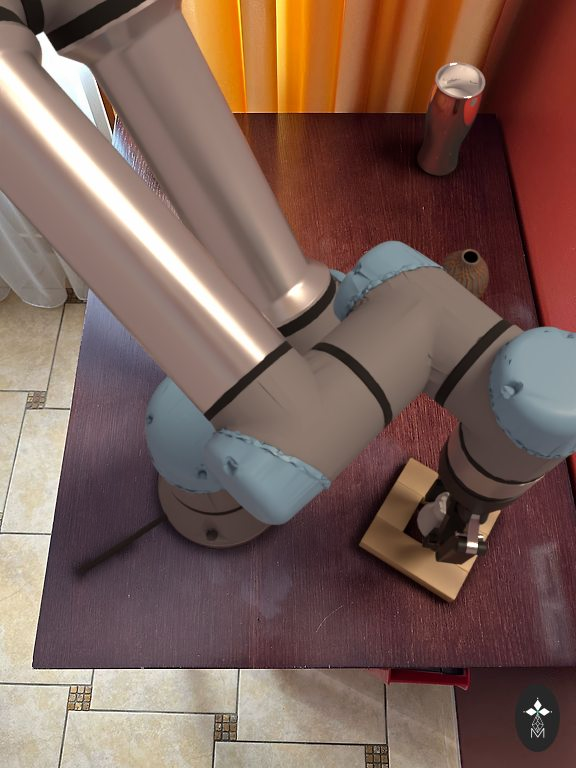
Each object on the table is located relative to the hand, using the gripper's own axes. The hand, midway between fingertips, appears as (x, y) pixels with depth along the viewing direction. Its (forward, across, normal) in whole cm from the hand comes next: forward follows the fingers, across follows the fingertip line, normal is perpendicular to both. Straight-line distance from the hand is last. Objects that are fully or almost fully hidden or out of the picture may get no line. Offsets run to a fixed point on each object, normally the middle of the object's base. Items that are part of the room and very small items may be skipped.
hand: (435, 522), depth 77 cm
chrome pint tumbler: (+4, +57, +2) cm, 57 cm away
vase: (+5, +33, -2) cm, 34 cm away
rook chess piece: (0, 0, 0) cm, 0 cm away
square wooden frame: (+4, 0, 0) cm, 4 cm away
